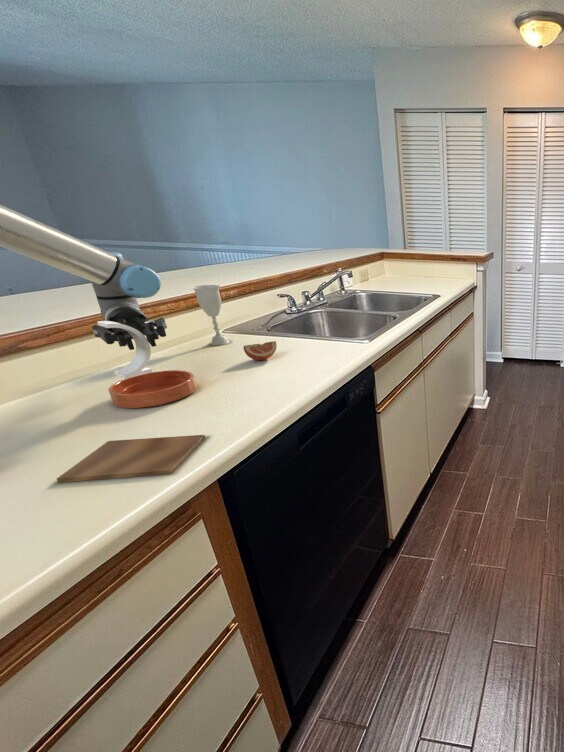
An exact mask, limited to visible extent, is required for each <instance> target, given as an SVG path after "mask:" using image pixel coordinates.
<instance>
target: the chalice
mask: <svg viewBox="0 0 564 752" xmlns="http://www.w3.org/2000/svg"><path fill="white" fill-rule="evenodd" d="M192 289H193V291H194V293H195V296H196V300H197V303H198V305H199V306H200V309H202V311H203V312H204V313H205V314H206V315H207V317H210V318H211V319H212V322H211V324H213V330H214V332H215V335H213V336H212V338H211V343H210V345H211V346H223V345H227V344H230V341H229V340H228V338H227V337H226V336H225V335H224V334H222V333H221V332H220V329H221V328H220V327H219V321H218V320H217V317H218V316H219V315H220V311H221V308H222V302H223V301H222V298H221V294H220V285H218V284H203V285H202V284H201V285H195V286H192Z"/></svg>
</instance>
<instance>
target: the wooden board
mask: <svg viewBox="0 0 564 752" xmlns="http://www.w3.org/2000/svg"><path fill="white" fill-rule="evenodd" d="M205 440H206V435H205V434H193V435H179V436H178V435H177V436H163V437H150V438H149V437H148V438H132V439H117V440H108V441H106V442H105V443H103V444H102V445H101V446H99V447H98V448H96V449H95V450H94V451H92V452H91V453H90V454H89V455H87V456H85V457H84V458H83V459H81V460H80V461H79V462H77V463H76V464H74V465H73V466H71V467H70V468H69V469H67V470H66V471H64V473H62V474H60V476H58V477H57V478H56V481H57V483H59V484H60V483H71V482H85V481H96V480H112V479H122V478H134V477H135V478H136V477H147V476H161V475H172V474H173V473H174V472H175V471H176V470H177V469H178V468H179V467H180V466H181V464H183V462H185V461H186V459H187V458H188V457H189V456H190V455H191V454H192V453H193V452H194V451H195V450H196V449H197V448H198V447H199V446H200V445H201V444H202V443H203V441H205Z"/></svg>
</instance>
